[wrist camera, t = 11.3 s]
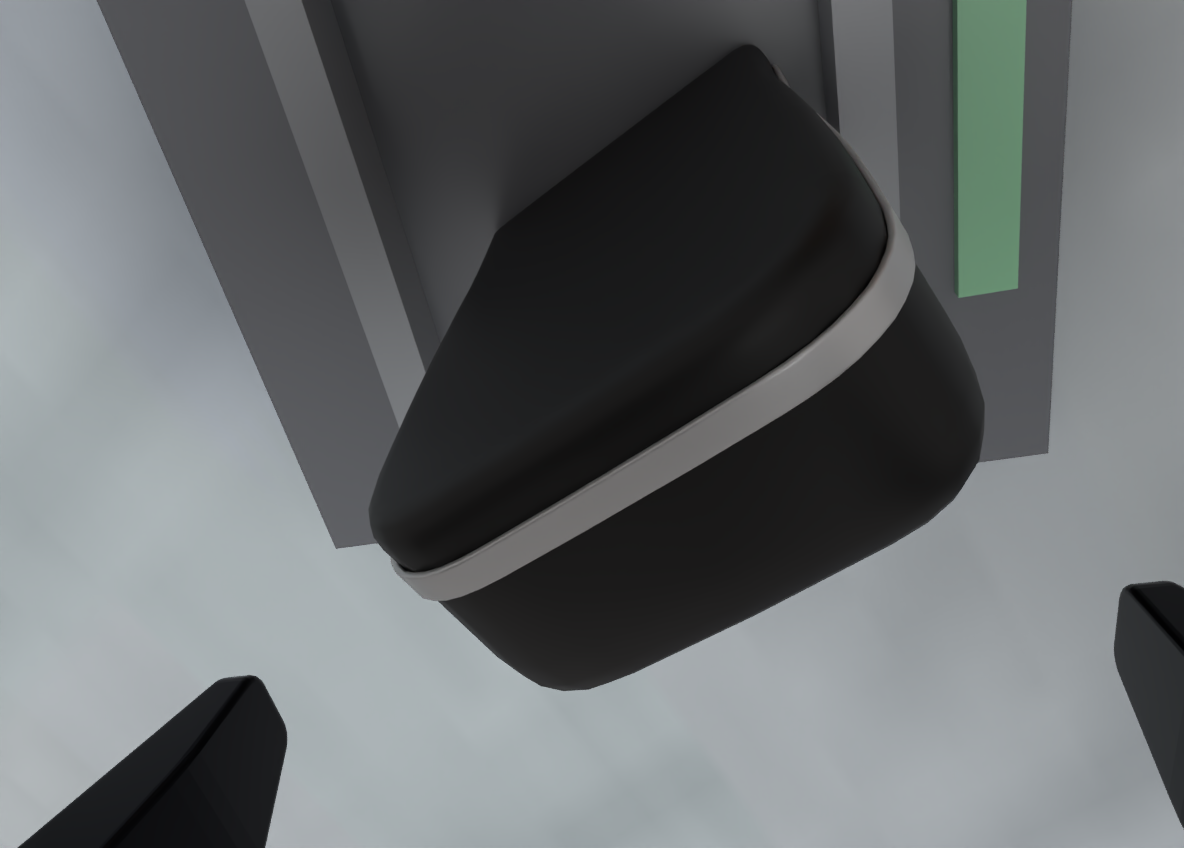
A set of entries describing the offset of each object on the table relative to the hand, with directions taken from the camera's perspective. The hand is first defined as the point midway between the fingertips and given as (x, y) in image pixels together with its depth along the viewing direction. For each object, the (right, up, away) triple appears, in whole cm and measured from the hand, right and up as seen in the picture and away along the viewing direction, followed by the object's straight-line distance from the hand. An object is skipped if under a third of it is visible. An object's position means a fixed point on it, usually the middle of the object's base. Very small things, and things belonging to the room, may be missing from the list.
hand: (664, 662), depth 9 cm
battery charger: (+1, +7, +10) cm, 12 cm away
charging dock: (0, +7, +10) cm, 13 cm away
